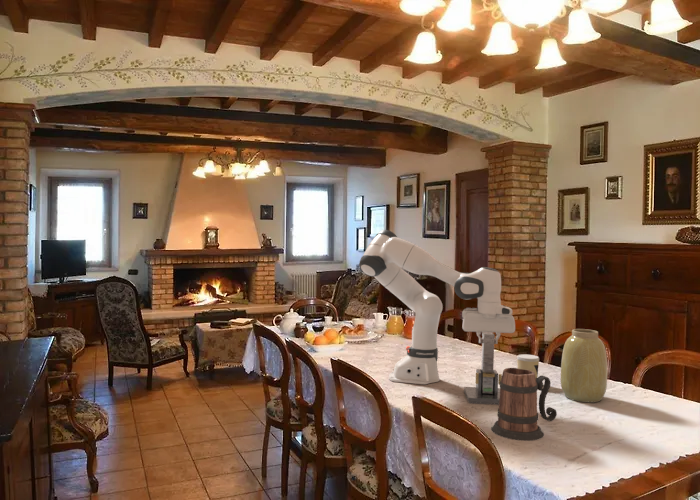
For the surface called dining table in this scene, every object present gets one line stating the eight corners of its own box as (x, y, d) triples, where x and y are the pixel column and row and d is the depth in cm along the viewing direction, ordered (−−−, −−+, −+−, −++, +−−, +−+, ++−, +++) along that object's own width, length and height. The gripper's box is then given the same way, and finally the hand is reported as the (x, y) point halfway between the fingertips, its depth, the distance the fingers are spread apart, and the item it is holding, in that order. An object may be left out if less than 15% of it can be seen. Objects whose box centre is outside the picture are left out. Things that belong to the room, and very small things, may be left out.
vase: (604, 394, 232) (606, 329, 231) (608, 406, 216) (611, 336, 215) (559, 389, 238) (561, 326, 237) (560, 401, 221) (562, 332, 221)
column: (482, 393, 221) (484, 334, 220) (480, 389, 227) (482, 332, 226) (493, 394, 220) (494, 335, 219) (490, 390, 226) (492, 332, 225)
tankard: (511, 443, 175) (513, 379, 175) (480, 425, 191) (482, 366, 191) (572, 435, 183) (573, 374, 183) (537, 418, 199) (539, 362, 199)
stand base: (468, 403, 216) (469, 375, 216) (464, 391, 232) (464, 365, 232) (511, 405, 215) (511, 377, 214) (503, 393, 231) (504, 367, 230)
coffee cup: (539, 387, 241) (540, 359, 240) (517, 385, 243) (517, 358, 242) (537, 381, 250) (537, 354, 250) (515, 380, 252) (516, 353, 251)
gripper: (463, 308, 220) (462, 343, 221) (516, 310, 218) (515, 345, 219) (461, 306, 226) (460, 340, 227) (513, 308, 225) (512, 342, 225)
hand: (488, 343), depth 223 cm, fingers closed on column, 4 cm apart
